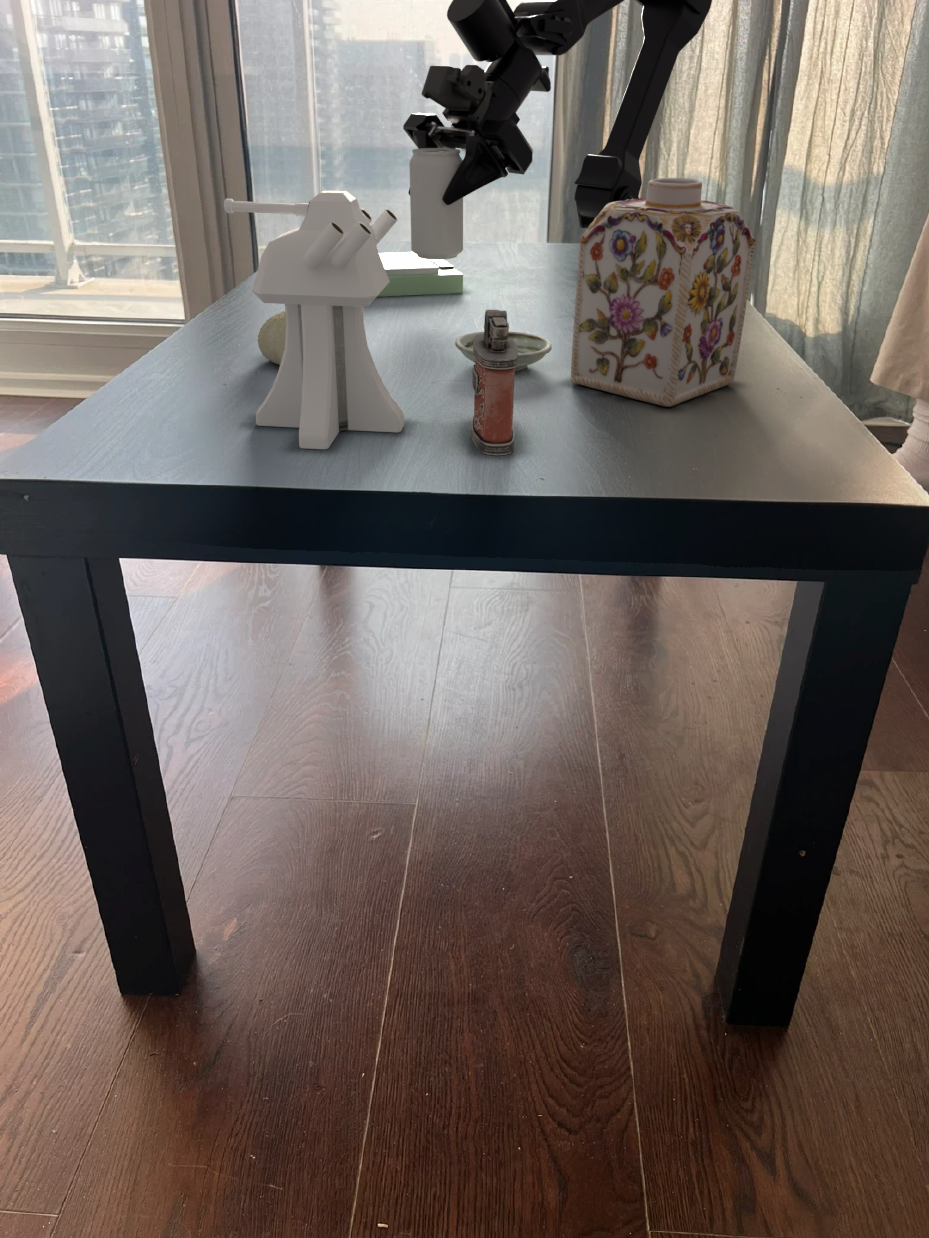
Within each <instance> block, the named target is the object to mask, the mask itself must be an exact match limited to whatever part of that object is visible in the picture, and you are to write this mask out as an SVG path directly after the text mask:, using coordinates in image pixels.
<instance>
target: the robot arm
mask: <svg viewBox="0 0 929 1238" xmlns="http://www.w3.org/2000/svg"><path fill="white" fill-rule="evenodd" d="M634 1H635V2H637V4H639V6H641V7H642V12H641V17H640V18H641V25H642V32H643V42H642V45H641V47H640V51H639V53H638V56H637V59H636V61H635V64H634V67H633V69H632V72H631V75H630V78H629V81H628V83H627V87H626V89H625V92H624V95H623V97H622V100H621V103H620V105H619V108H618V111H617V113H616V117H615V119H614V121H613V125H612V127H611V131H610V133H609V135H608V138H607V140H606V144H605V145H604V148H603V149H602V150H601V151H600V152H598V153H597V154H586V156H585V158H584V159H583V161H582V165H581V169H580V172H579V175H578V177H577V178H576V180H575V181H574V185H576V186H575V187H576V188H575V192H574V197H573V198H574V202H575V204H576V210H577V211H576V212H577V217H578V223H579V227H580V228H581V229H587V228H588V227H589V225H590V224H591V223H592V222H593V221H594V219H595V218H596V217H597V215H598V214H599V213H600V212H601V211H602V209H603V208H604V207H605V206H606V205H607V204H608V203H611V202H616V201H625V200H627V199H630V200H631V199H639V198H640V197H639V196H640V191H641V188H642V185H643V179H642V172H641V164H640V160H641V159H640V158H641V155H642V152H643V150H644V147H645V145H646V142H647V139H648V136H649V134H650V131H651V128H652V127H653V123H654V122H655V118H656V115H657V112H658V110H659V107H660V105H661V102H662V99H663V96H664V94H665V92H666V91H665V90H666V88H667V85H668V83H669V80H670V78H671V75H672V73H673V69H674V67H675V64H676V62H677V59H678V56H679V54H680V52H681V51H682V50H683V49H684V48H685V47H686V46H687V45H688V44H689V43H690V42H691V41H692V40H693V39H694V38H695V37H696V36H697V35H698V34H699V32H700V30H701V28H702V26H703V24H704V22H705V20H706V19H707V16H708V14H709V12H710V10H711V7H712V3H713V0H634ZM623 2H625V0H523V1H522V2H520V3H519V4H518V5H517V6H516V7H515V8H514V10H513V9H512V7H511V6H510V4H509V3H508V0H452V1H451V3H450V4H449V6H448V8H447V11H446V17H447V21H449V23H450V24H451V27H452V28H453V30H454V31H455V33H456V34H457V36H458V37H459V38H460V40H461V42H462V43H463V45H464V47H465V48H466V50H467V51H468V52H469V54H470V57H472V59H473V60H474V61H476V62H486V63H489V64H488V65H487V67H486V68H485V69H484V68H482V67H481V66H479V65H477V64H466V65H465V66H464V67H462V69H461V68H460V67H453V66H450V65H430V66H429V67H428V72H427V74H426V79H425V81H424V84H423V88H422V90H421V96H422V97H424V98H425V99H430V100H431V101H433V102H434V103H436V104H438V105H439V106H441V107H443V108H444V110H443V111H442V112H441V114H442V115H443V117H444V118H445V120H446V121H448V122H450V123H451V125H450V127H449V126H445V124H444V123H443V122H442V120H441V118H439V116H438V115H437V114H435V113H424V112H423V113H422V112H417V113H410V115H409V117H407V120H406V121H405V122H404V123H403V124H402V125H403V126H402V128H403V130H404V132H405V133H406V134H407V136H408V137H409V138H410V139H411V142H413V143H414V145H415V146H416V147H417V149H421V148H450V149H459V150H461V151H462V152H464V154H465V155H464V157H463V159H462V160H463V161H462V163H461V164H460V166H459V168H458V170H457V171H456V173H455V175H454V177H453V178H452V180H451V182H450V184H449V185H448V187H447V189H446V191H445V193H444V196H443V198H442V200H443V201H444V203H445V204H446V205H450V204H452V203H454V202H456V201H458V200H459V199H461V198H463V199H464V197H467V196H468V195H470V194H472V193H473V192H475V191H478V190H479V189H481V188H483V187H485V186H487V185H489V184H491V183H493V182H495V181H497V180H499V179H501V178H506V177H507V176H508V175H509V174H515V175H525V174H526V172H527V171H528V169H529V168H530V166H531V165H532V163H533V158H534V157H533V156H534V155H533V154H534V149H533V148H532V146H531V144H530V143H529V141H528V140H527V138H526V137H525V135H524V134H523V133H522V131H521V129H520V127H519V126H518V124H519V122H520V121H521V118H520V117H519V115H518V114H517V112H518V110H519V109H520V107H521V106H522V104H523V103H524V102H525V100H526V99H527V97H528V96H529V94H530V93H531V92H541V93H549V92H550V91H551V90H552V85H551V84H552V83H551V79H550V74H549V73H550V67H549V66H543V65H542V63H541V62H540V60H539V58H538V56H563V55H566V54H567V53H568V52H569V51H570V50H572V48H573V47H574V46H575V45H576V44H577V43H579V41H580V40H581V39H582V38H583V37H584V35H585V33H586V30H587V27H588V26H589V25H590V24H591V23H592V22H593V21H594V20H597V19H598V18H599V17H601V16H603V15H604V14H605V13H607V12H609V11H610V10H612V9H614V8H615V7H617V6H618V5H620V4H621V3H623ZM408 195H409V196H410V187H409V189H408Z"/></svg>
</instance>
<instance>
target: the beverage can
mask: <svg viewBox="0 0 929 1238" xmlns="http://www.w3.org/2000/svg"><path fill="white" fill-rule="evenodd" d="M462 161H463V159H462V157H461V149H460V148H456V149H450V148H421V149H418V148H414V149H412V156H411V158H410V159H409V188H410V195H409V207H410V247H411V248H410V249H411V252H414V253H415V254H417V257H419V258H422V259H429V260H444V261H445V260H450V259H455V258H458V255H459V254H460V253H462V252H463V251H464V197H463V198H461V199H459V200H458V201H456V202H454V203H452V204H450V205H446V204H445V203H444V201H443V200H442V198H443V196H444V193H445V191H446V189H447V187H448V185H449V184H450V182H451V180H452V178H453V177H454V175H455V173H456V171H457V170H458V168H459V166H460V164H461V163H462Z"/></svg>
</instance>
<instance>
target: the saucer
mask: <svg viewBox="0 0 929 1238" xmlns="http://www.w3.org/2000/svg"><path fill="white" fill-rule="evenodd" d="M478 334H484V330H483V331H475V332H470V333H466V334H465V333H464V334H463V335H460V336H458V337H457V338H456V339H455V341H454V344H455V347H456V348H457V350H459V351H460V353H461V354H462V355H463V356H464V357H465V358H467V359H468V360H470V362H471V361H472V362H473V363H475V357H474V356H473V340H474V337H475V336H476V335H478ZM508 337H509V338H510V339H511V340H513V341H514V343H515V344H516V345H517V348H518V362H517V366H516V367H515V372H518V371H519V372H520V371H522V370H525V369H527V368H528V366H531V365H533V364H535V363H538V362H539V361H540V360H542V359H543V358H544V357H545V356H546V355H547V354H549V353H550V352H551V351H552V347H553V345H552V343H551V341H550V340H548V339H547V338H545V337H543V336H540V335H536V334H533V333H528V332H521V331H511V330H509V333H508Z"/></svg>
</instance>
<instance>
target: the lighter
mask: <svg viewBox="0 0 929 1238" xmlns="http://www.w3.org/2000/svg"><path fill="white" fill-rule="evenodd" d="M483 331H484V334H478V335H476V336H475V337H474V340H473V356H474V357H475V362H474V364H473V365H472V380H471V383H472V389H473V391H474V398H473V399H474V401H473V402H474V403H473V416H472V419H471V426H470V427H471V428H470V434H471V440H472V442H473V444H474V446H475V447H476V448H477V450H478V451H479V452H481V453H482V454H483V455H484V454H485V455H488V456H505V455H510V454H512V453H513V452H514V447H515V428H514V425H513V424H514V423H513V421H514V420H513V419H514V399H515V398H514V397H515V394H514V393H515V375H516V374H515V373H516V371H515V367H516V366H517V362H518V348H517V345H516V344H515V343H514V341H513V340H511V339H510V338H509V337H508V333H509V331H510V324H509V322H508V313H507V310H500V309H486V310H485V312H484V323H483Z"/></svg>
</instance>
